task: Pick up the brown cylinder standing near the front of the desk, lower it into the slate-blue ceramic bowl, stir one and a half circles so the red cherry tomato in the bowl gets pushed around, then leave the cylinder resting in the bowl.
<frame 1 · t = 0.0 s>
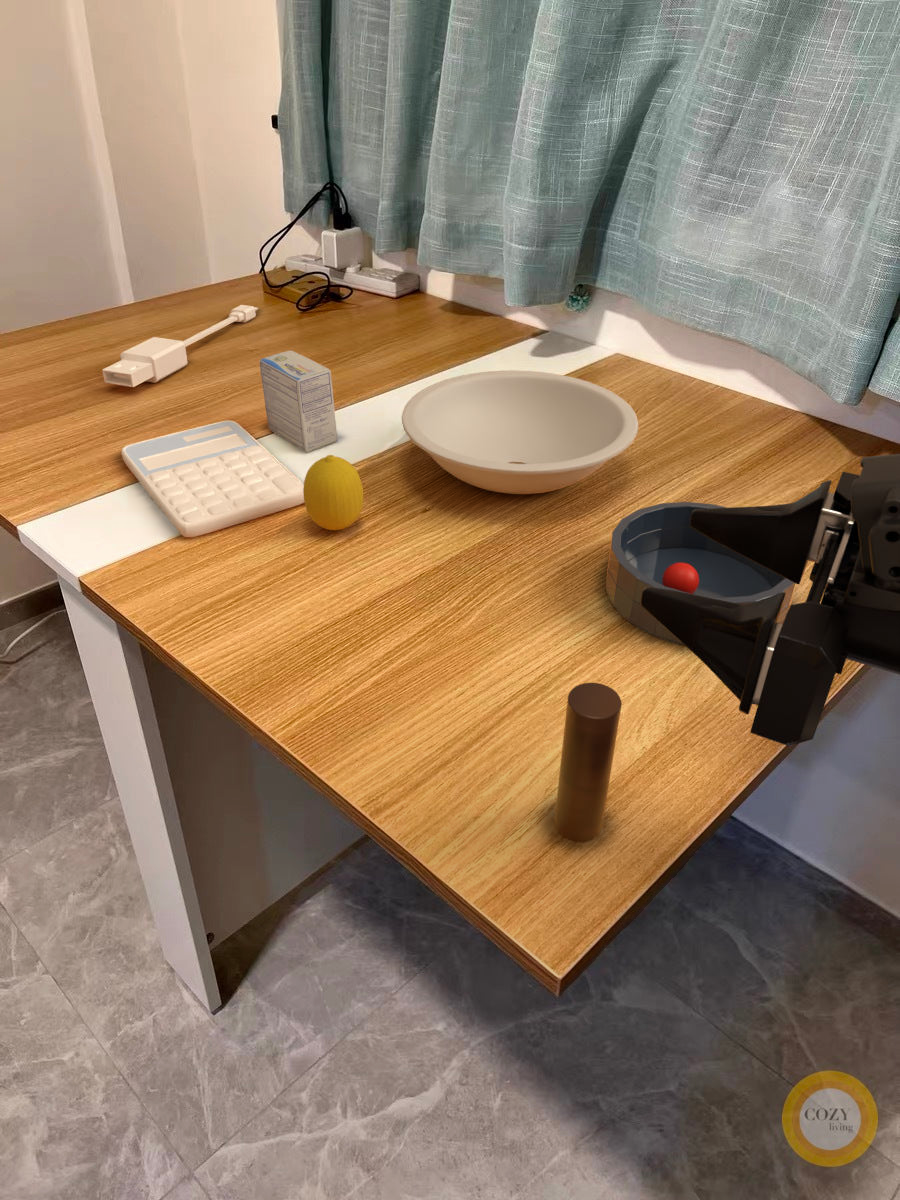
hand: (668, 554, 51), 17 cm above the table, tool horizontal, fingers open, 9 cm apart
bowl: (694, 597, 76), on the table
charging cable: (191, 353, 122), on the table
tomato: (680, 580, 75), point 2 cm above the table, touching bowl
soup bowl: (516, 473, 94), on the table
brown cylinder: (577, 827, 56), on the table
medicine box: (302, 438, 101), on the table
calculator: (213, 482, 93), on the table
lemon: (337, 533, 85), on the table
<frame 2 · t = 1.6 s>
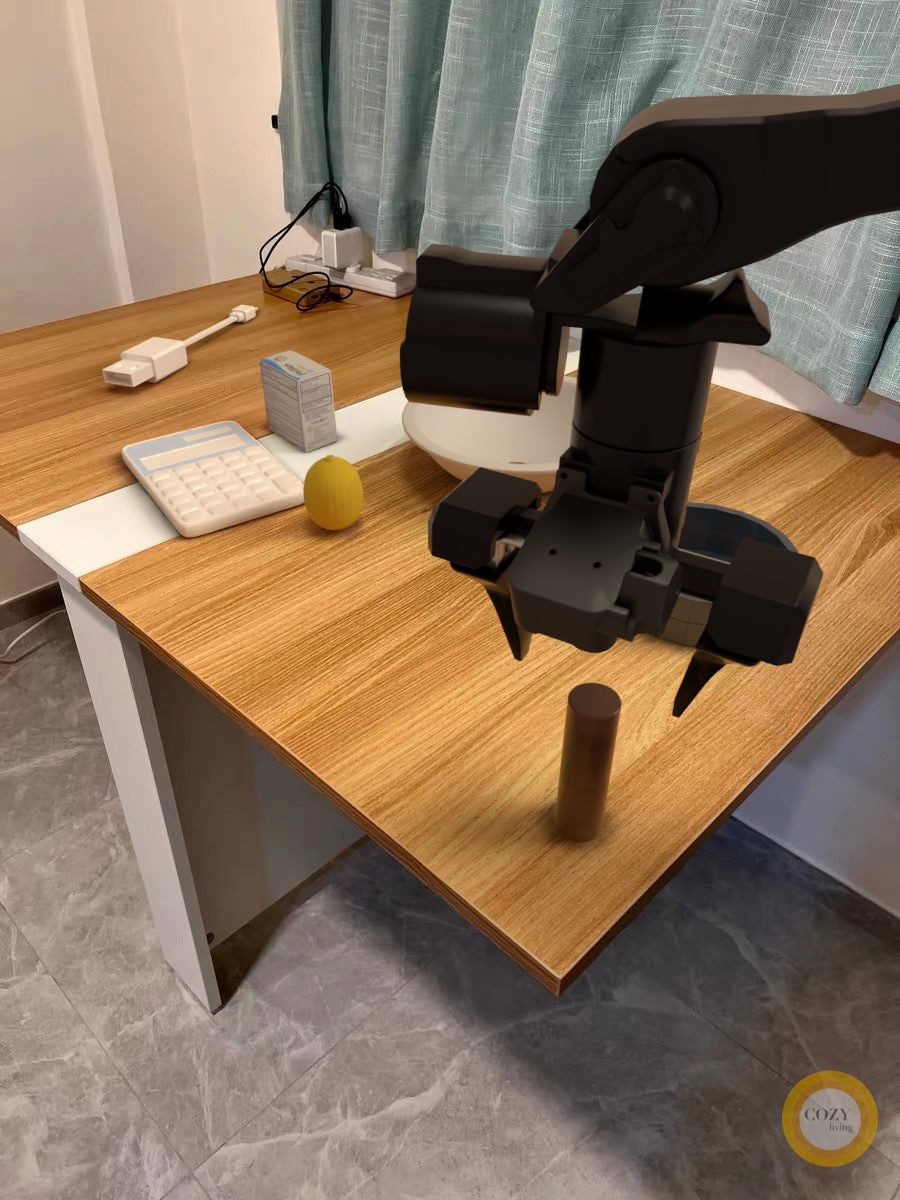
hand: (596, 683, 49), 12 cm above the table, tool pointing down, fingers open, 9 cm apart
nothing on the table moved.
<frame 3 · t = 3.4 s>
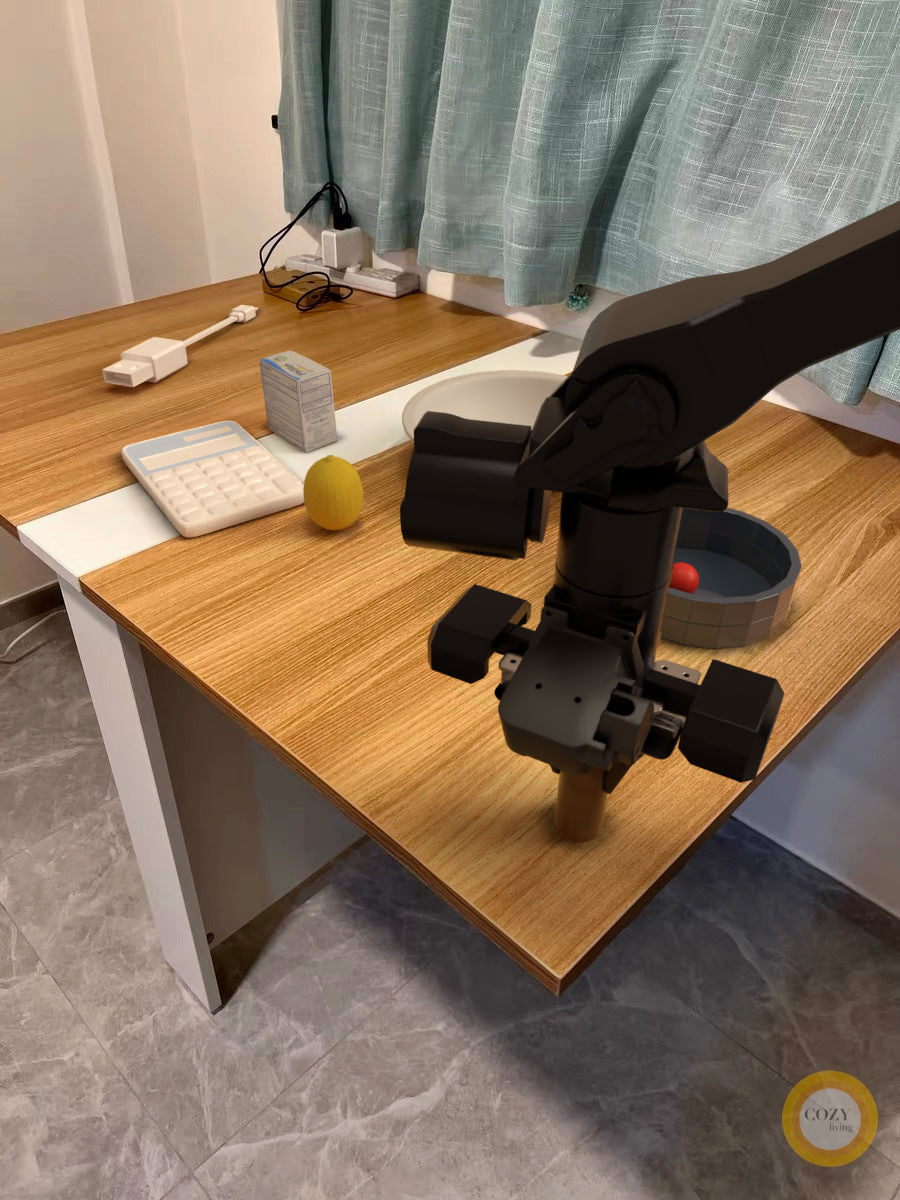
hand: (583, 778, 54), 5 cm above the table, tool pointing down, fingers closed on brown cylinder, 3 cm apart
brown cylinder: (577, 827, 56), on the table, touching gripper
everything else where it was.
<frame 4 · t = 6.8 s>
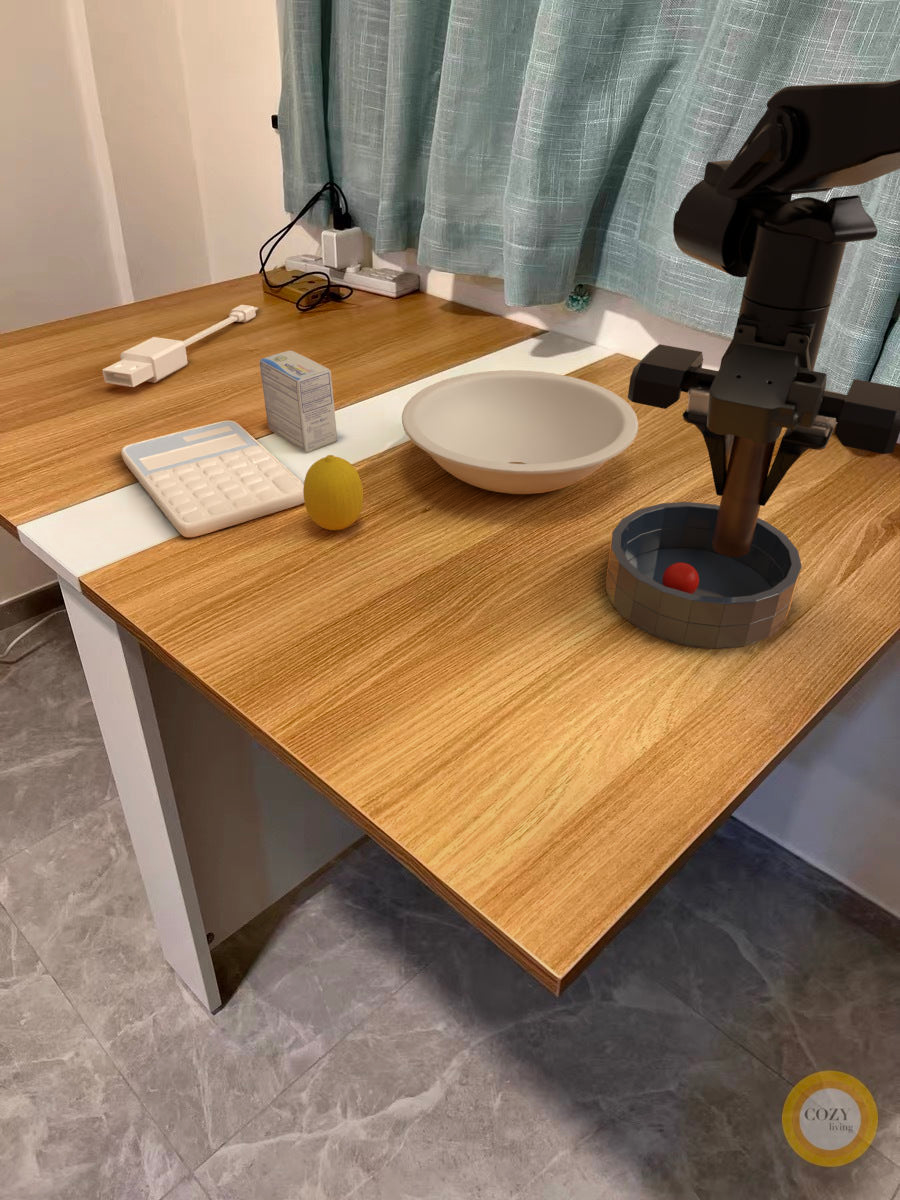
hand: (741, 498, 69), 10 cm above the table, tool pointing down, fingers closed on brown cylinder, 3 cm apart
brown cylinder: (730, 547, 72), point 6 cm above the table, touching gripper
everything else where it was.
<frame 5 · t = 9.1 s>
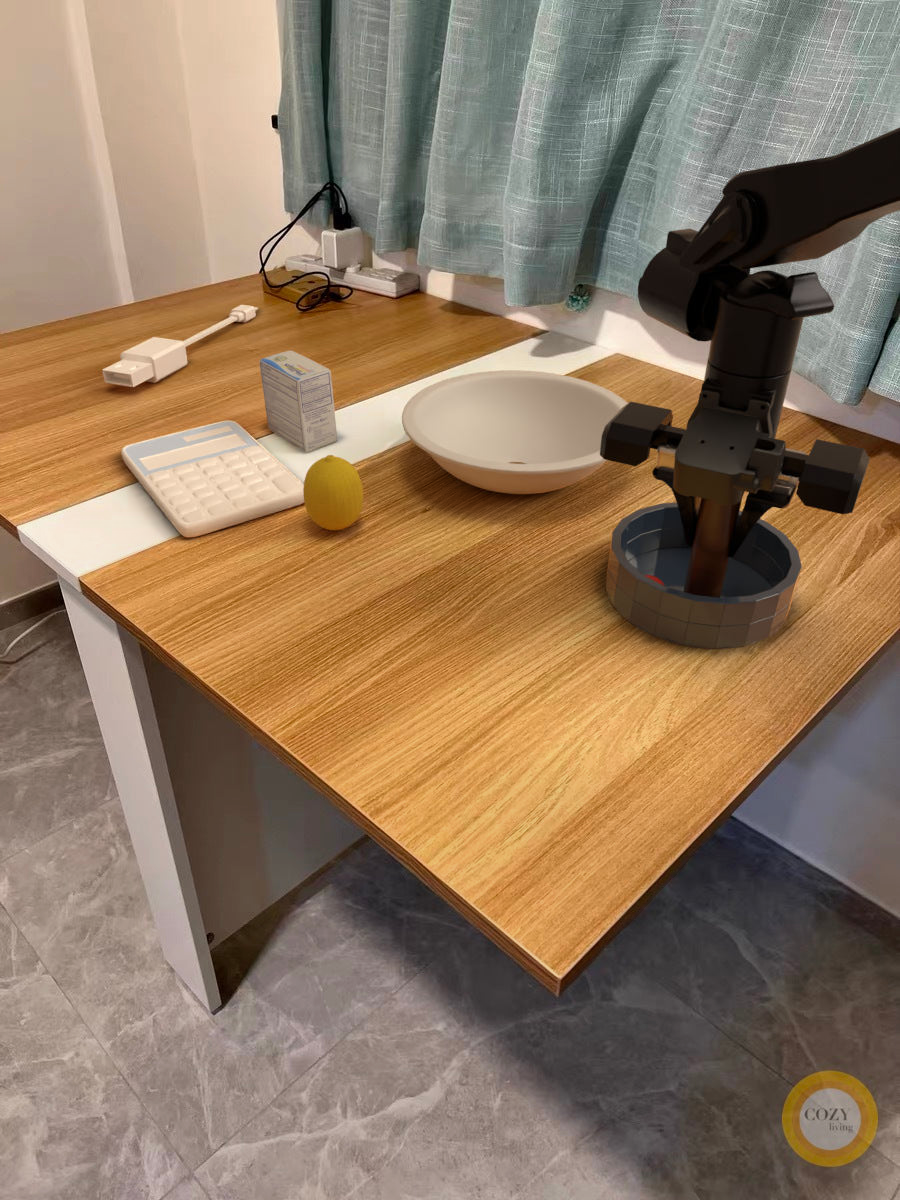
hand: (710, 549, 72), 6 cm above the table, tool pointing down, fingers closed on brown cylinder, 3 cm apart
tomato: (647, 593, 73), point 2 cm above the table, tilted 136°, touching bowl
brown cylinder: (701, 595, 74), point 1 cm above the table, touching gripper
everything else where it was.
when the fingers open (5 cm above the table, at t = 10.5 s): brown cylinder stays where it is, resting on bowl.
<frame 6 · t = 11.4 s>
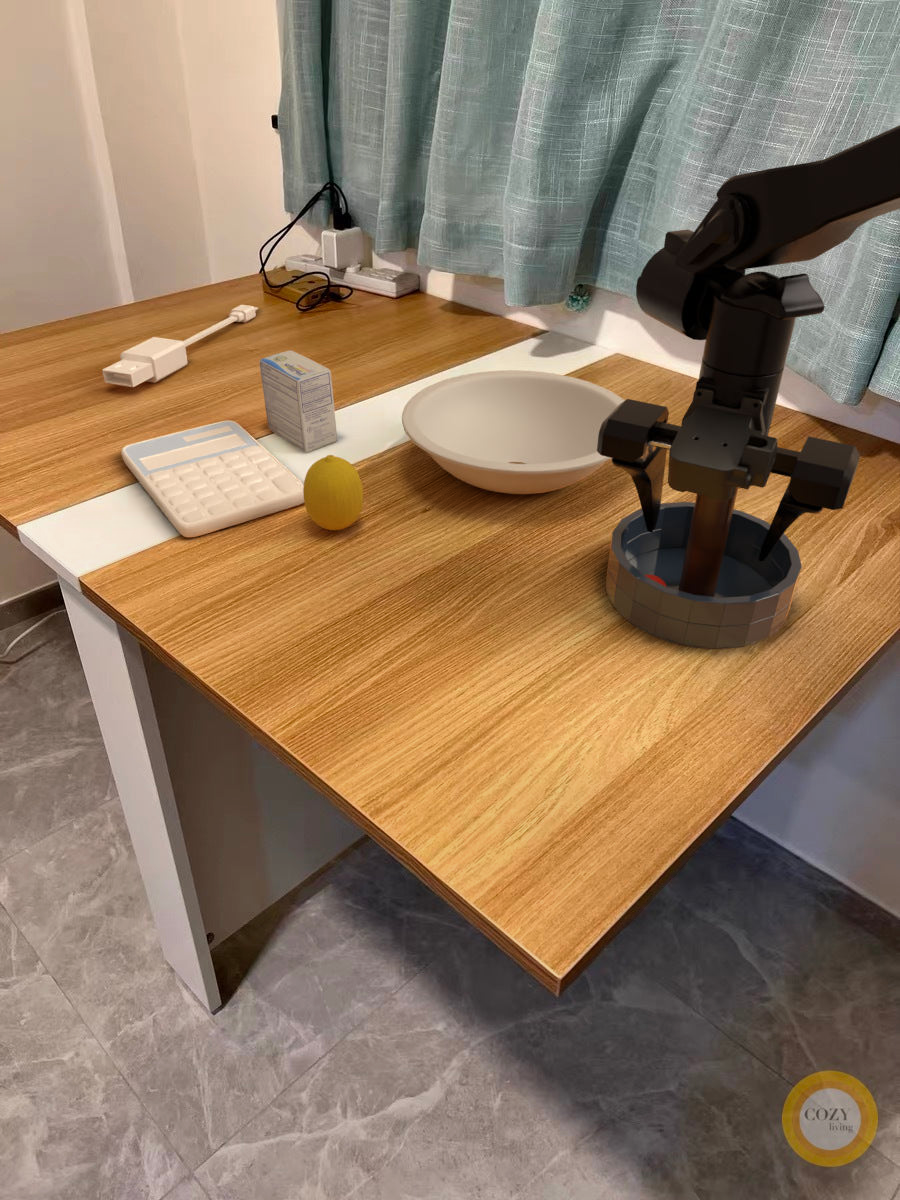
hand: (705, 544, 73), 5 cm above the table, tool pointing down, fingers open, 9 cm apart
tomato: (649, 592, 73), point 2 cm above the table, tilted 131°, touching bowl
brown cylinder: (696, 591, 76), point 1 cm above the table, touching bowl
everything else where it was.
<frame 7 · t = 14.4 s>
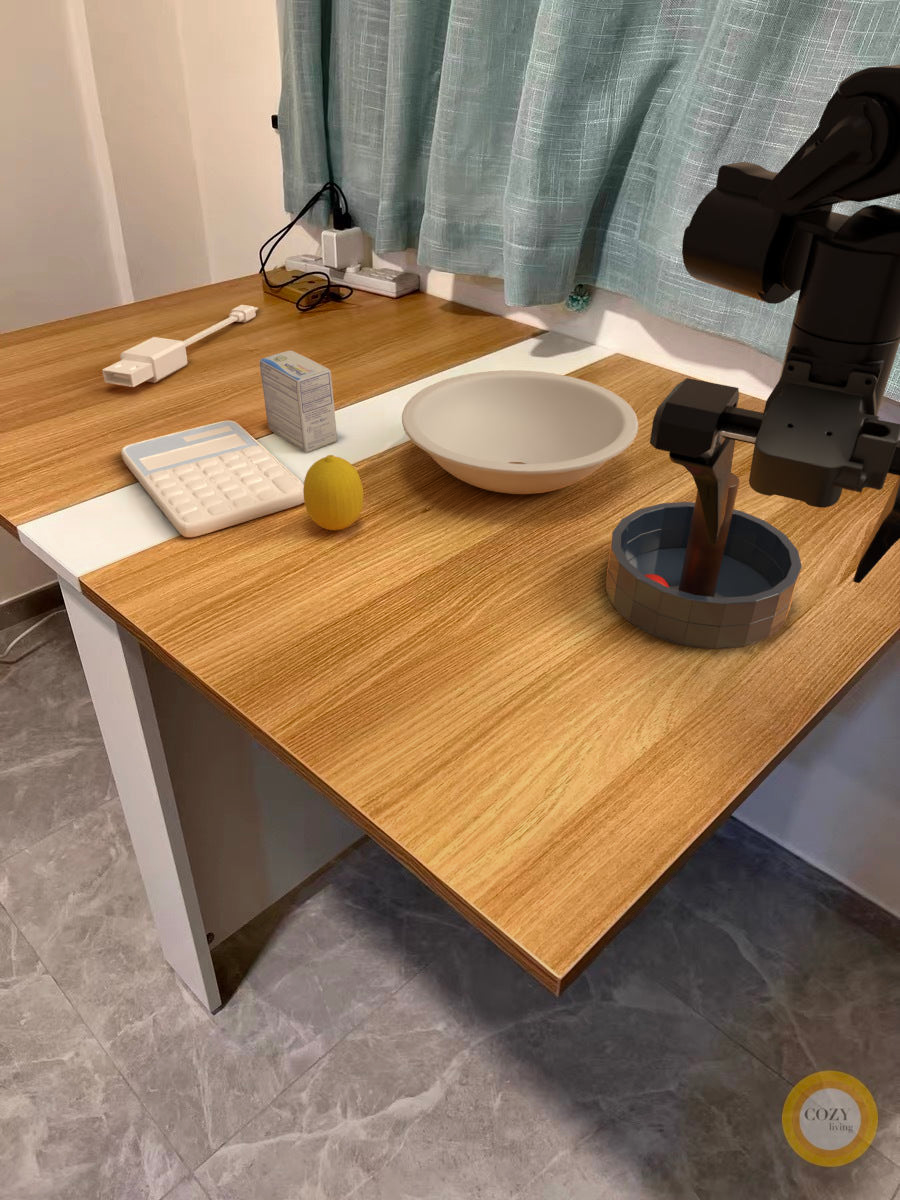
hand: (783, 560, 58), 13 cm above the table, tool pointing down, fingers open, 9 cm apart
tomato: (651, 592, 73), point 2 cm above the table, tilted 124°, touching bowl
everything else where it was.
at the end: tomato moved 3.3 cm from its start; tomato inside the target area in the bowl (4.9 cm from its centre), point 2.1 cm above the bowl's base; brown cylinder inside the target area in the bowl (0.1 cm from its centre), point 0.6 cm above the bowl's base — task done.
